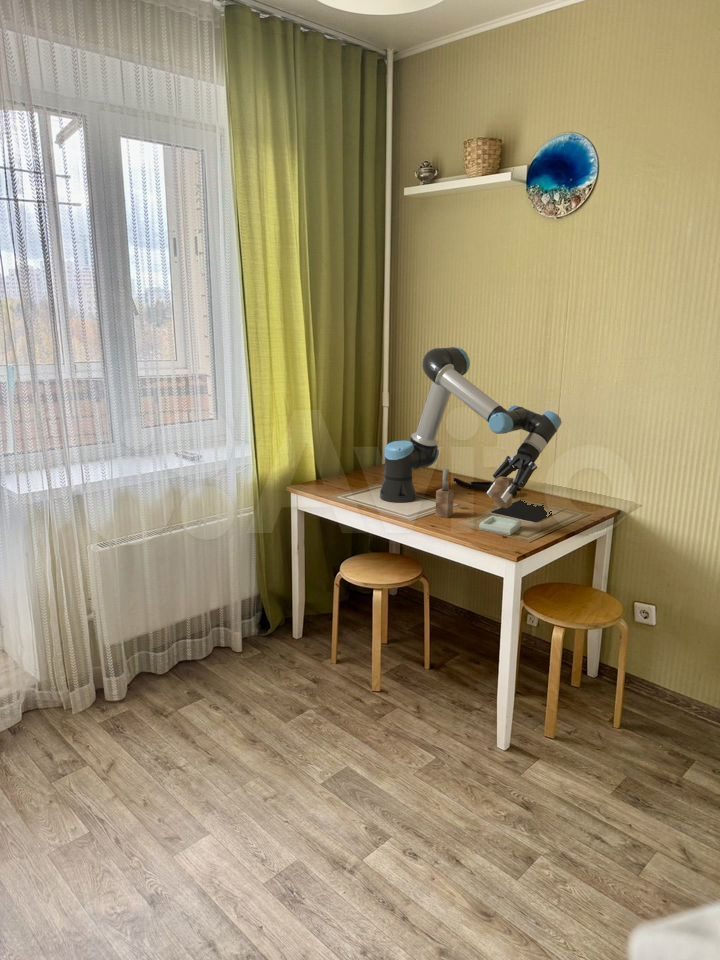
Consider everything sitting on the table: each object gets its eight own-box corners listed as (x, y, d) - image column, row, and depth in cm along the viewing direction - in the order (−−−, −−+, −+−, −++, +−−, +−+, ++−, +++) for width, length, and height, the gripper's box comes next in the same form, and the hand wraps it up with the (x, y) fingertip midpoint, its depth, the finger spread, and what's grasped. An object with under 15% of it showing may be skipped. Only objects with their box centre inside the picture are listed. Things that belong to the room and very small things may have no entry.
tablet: (536, 522, 259) (489, 512, 271) (536, 524, 259) (488, 514, 271) (566, 508, 279) (521, 499, 291) (566, 510, 279) (521, 500, 292)
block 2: (493, 506, 249) (495, 479, 247) (498, 502, 254) (500, 476, 251) (506, 508, 247) (508, 480, 244) (511, 505, 251) (513, 478, 249)
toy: (449, 489, 311) (510, 499, 292) (449, 478, 310) (510, 488, 291) (460, 485, 318) (520, 494, 299) (460, 475, 317) (520, 483, 298)
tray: (479, 529, 251) (479, 523, 250) (491, 521, 260) (491, 515, 260) (509, 535, 245) (510, 529, 244) (520, 527, 254) (521, 520, 254)
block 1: (435, 515, 267) (437, 470, 262) (440, 512, 271) (442, 467, 266) (447, 518, 264) (449, 472, 260) (452, 514, 268) (454, 469, 264)
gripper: (556, 459, 246) (520, 510, 242) (516, 450, 262) (482, 497, 258) (547, 446, 242) (510, 497, 238) (507, 437, 258) (472, 485, 253)
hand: (496, 497), depth 248 cm, fingers closed on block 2, 7 cm apart
